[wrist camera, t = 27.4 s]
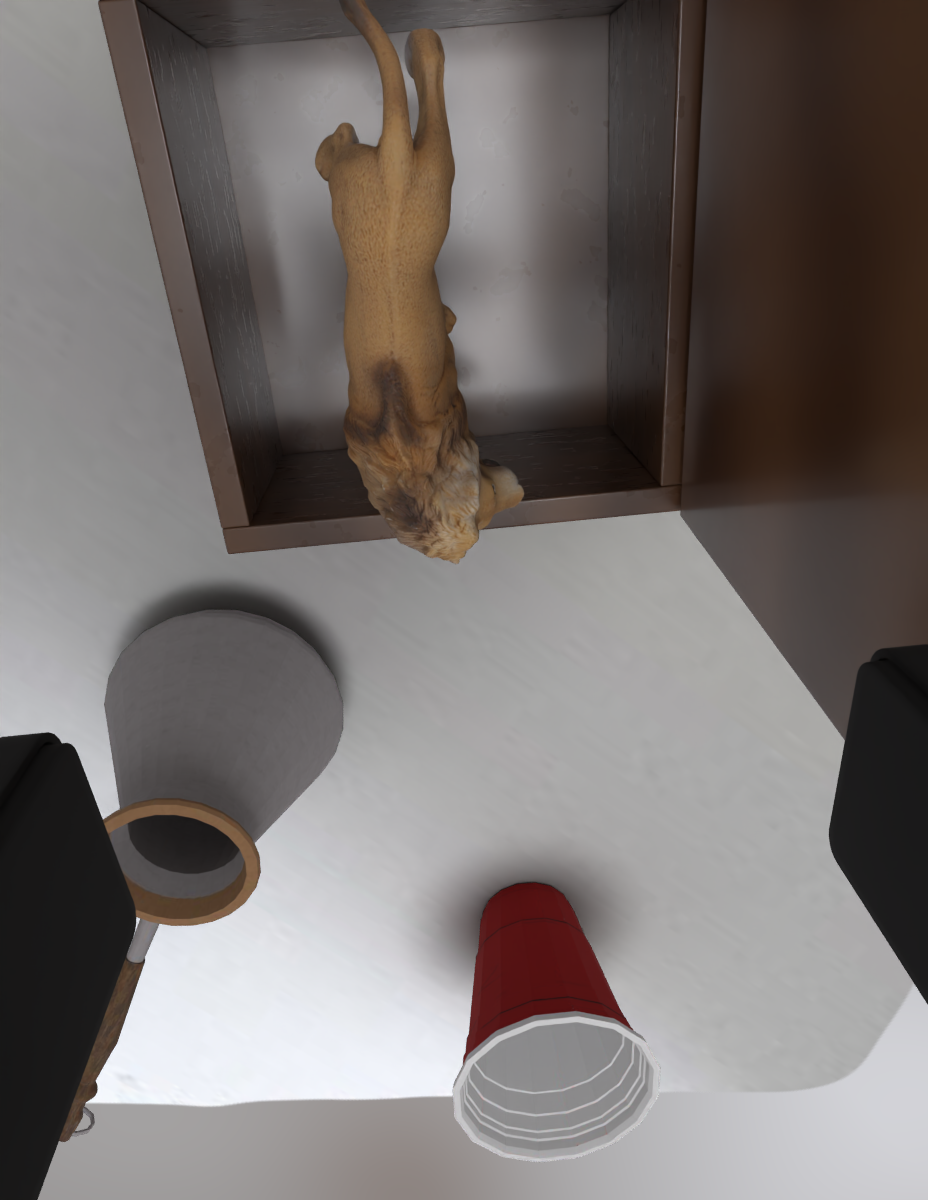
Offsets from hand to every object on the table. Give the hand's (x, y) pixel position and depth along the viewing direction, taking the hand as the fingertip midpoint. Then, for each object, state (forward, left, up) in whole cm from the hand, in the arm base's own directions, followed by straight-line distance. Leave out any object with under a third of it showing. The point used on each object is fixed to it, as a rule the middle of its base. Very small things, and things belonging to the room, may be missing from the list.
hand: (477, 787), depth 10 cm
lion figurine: (0, +5, -22) cm, 22 cm away
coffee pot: (-14, -20, -28) cm, 38 cm away
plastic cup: (+3, -35, -28) cm, 45 cm away
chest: (0, +4, -28) cm, 29 cm away
